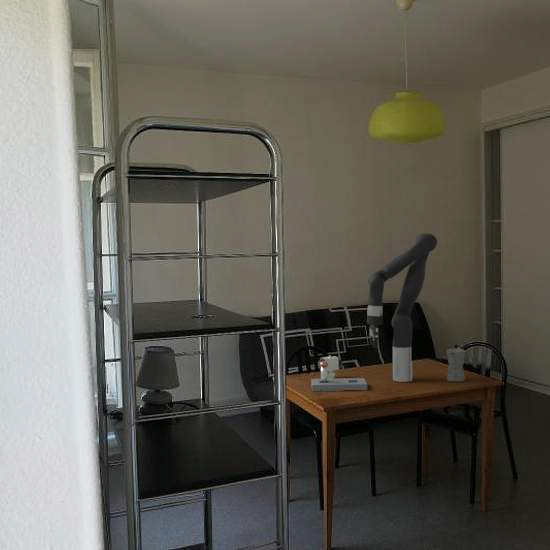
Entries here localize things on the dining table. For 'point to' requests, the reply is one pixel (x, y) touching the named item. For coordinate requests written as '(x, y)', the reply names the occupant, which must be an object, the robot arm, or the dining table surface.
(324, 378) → the lock pin
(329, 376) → the pneumatic valve
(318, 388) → the mount board
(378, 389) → the dining table surface
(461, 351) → the coffeepot
